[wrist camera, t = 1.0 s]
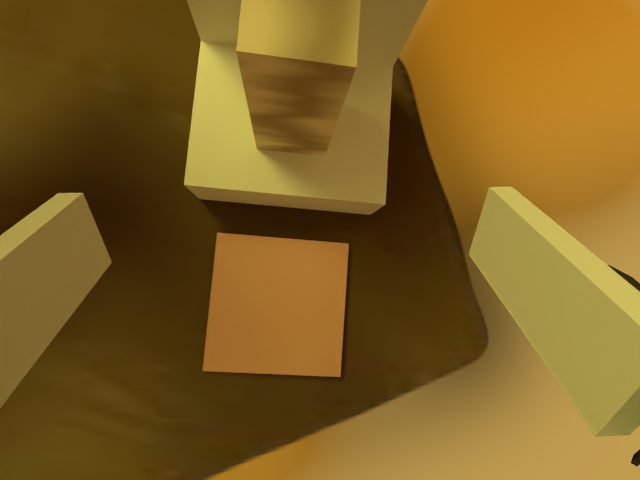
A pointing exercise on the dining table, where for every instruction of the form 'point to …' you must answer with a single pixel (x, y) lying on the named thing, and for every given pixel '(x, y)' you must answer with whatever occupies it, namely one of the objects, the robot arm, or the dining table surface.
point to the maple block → (297, 69)
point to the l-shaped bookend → (285, 167)
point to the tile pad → (276, 306)
